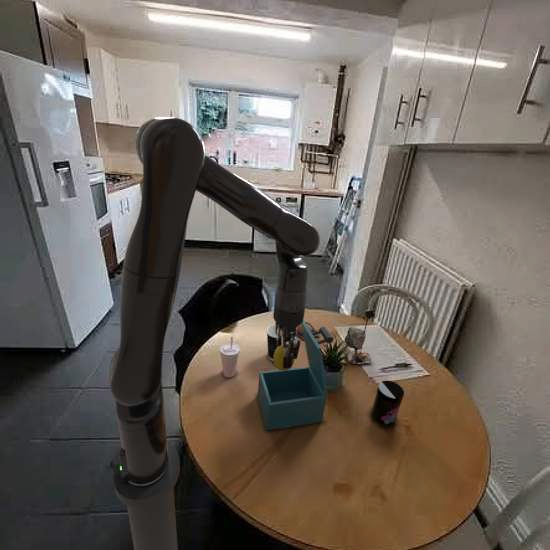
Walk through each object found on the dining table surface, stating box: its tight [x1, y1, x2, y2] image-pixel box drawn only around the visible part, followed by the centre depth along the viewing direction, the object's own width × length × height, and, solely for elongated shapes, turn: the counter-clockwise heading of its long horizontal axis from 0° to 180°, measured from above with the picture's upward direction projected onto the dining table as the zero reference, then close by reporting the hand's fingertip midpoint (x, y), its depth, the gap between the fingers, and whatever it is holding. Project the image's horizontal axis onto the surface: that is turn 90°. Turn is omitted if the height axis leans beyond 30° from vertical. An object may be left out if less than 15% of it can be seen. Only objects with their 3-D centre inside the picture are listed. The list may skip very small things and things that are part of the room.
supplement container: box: [371, 380, 405, 427], centre depth 86 cm, size 7×7×10 cm
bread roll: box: [296, 321, 320, 341], centre depth 126 cm, size 11×8×4 cm
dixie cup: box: [265, 324, 278, 362], centre depth 108 cm, size 8×8×11 cm
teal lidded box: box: [257, 365, 327, 431], centre depth 87 cm, size 16×13×9 cm
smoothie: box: [219, 335, 241, 379], centre depth 97 cm, size 6×6×14 cm
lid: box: [302, 320, 334, 397], centre depth 84 cm, size 16×13×6 cm
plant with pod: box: [341, 308, 376, 365], centre depth 109 cm, size 8×11×20 cm
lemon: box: [273, 345, 296, 371], centre depth 81 cm, size 6×6×8 cm
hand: (283, 359), depth 81 cm, fingers closed on lemon, 5 cm apart
